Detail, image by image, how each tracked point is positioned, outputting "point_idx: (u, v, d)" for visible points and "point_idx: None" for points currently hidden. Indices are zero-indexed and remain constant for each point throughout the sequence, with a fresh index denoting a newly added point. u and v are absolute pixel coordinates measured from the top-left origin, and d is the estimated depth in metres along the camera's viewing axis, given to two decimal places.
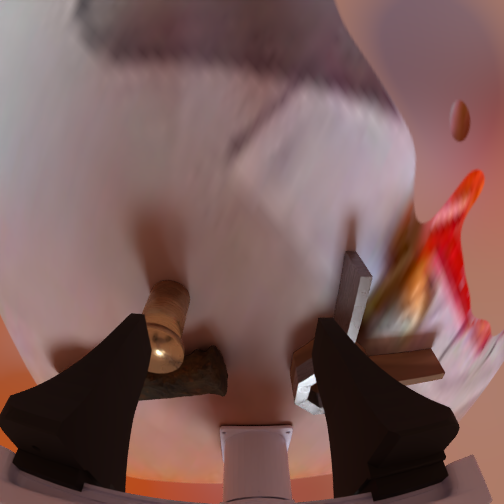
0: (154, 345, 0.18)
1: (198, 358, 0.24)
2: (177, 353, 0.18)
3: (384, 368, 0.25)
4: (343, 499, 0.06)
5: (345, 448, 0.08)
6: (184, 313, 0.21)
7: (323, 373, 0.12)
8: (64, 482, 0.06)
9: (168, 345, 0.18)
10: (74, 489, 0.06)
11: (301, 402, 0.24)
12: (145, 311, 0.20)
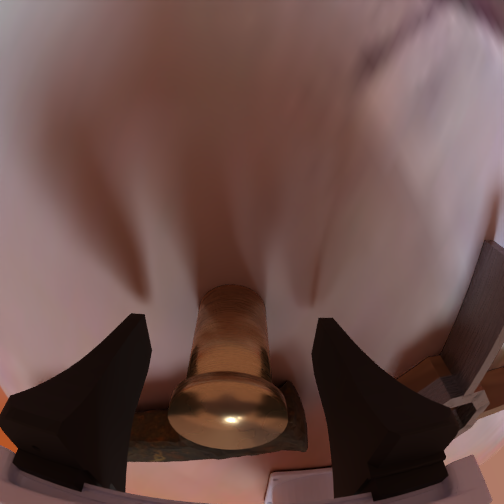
0: (234, 412, 0.09)
1: None
2: (277, 422, 0.09)
3: (488, 389, 0.16)
4: (343, 499, 0.06)
5: (345, 448, 0.08)
6: None
7: (323, 373, 0.12)
8: (64, 482, 0.06)
9: (263, 411, 0.09)
10: (74, 489, 0.06)
11: None
12: (203, 343, 0.11)
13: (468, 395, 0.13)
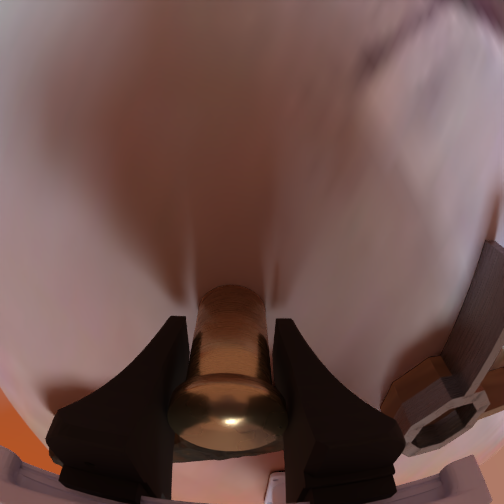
0: (233, 414, 0.09)
1: None
2: (276, 423, 0.09)
3: (489, 390, 0.16)
4: None
5: (291, 453, 0.08)
6: (267, 342, 0.12)
7: (279, 375, 0.11)
8: (64, 482, 0.06)
9: (263, 413, 0.09)
10: (131, 503, 0.06)
11: None
12: (203, 344, 0.11)
13: (469, 396, 0.13)
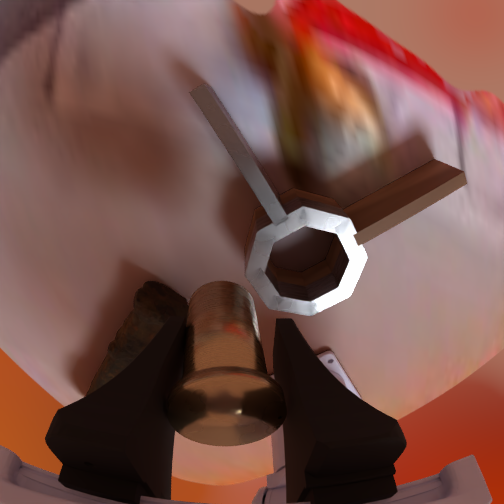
0: (233, 407, 0.09)
1: None
2: (276, 414, 0.09)
3: (372, 208, 0.18)
4: None
5: (292, 453, 0.08)
6: None
7: (279, 375, 0.11)
8: (64, 482, 0.06)
9: (262, 404, 0.09)
10: (131, 503, 0.06)
11: (276, 304, 0.19)
12: (196, 340, 0.11)
13: (283, 220, 0.16)
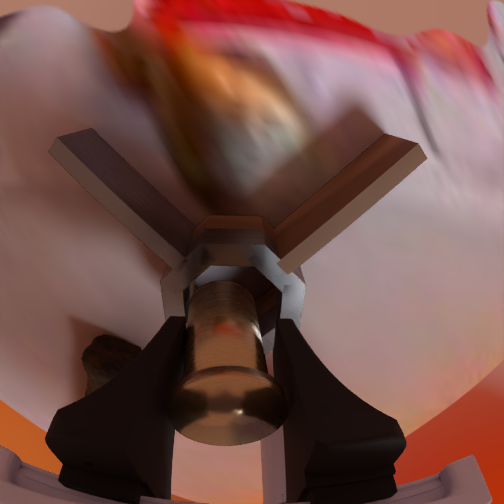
0: (234, 407, 0.09)
1: None
2: (277, 413, 0.09)
3: (304, 219, 0.15)
4: None
5: (292, 453, 0.08)
6: (260, 335, 0.12)
7: (279, 375, 0.11)
8: (64, 482, 0.06)
9: (263, 403, 0.09)
10: (131, 503, 0.06)
11: None
12: (197, 340, 0.11)
13: (183, 264, 0.14)
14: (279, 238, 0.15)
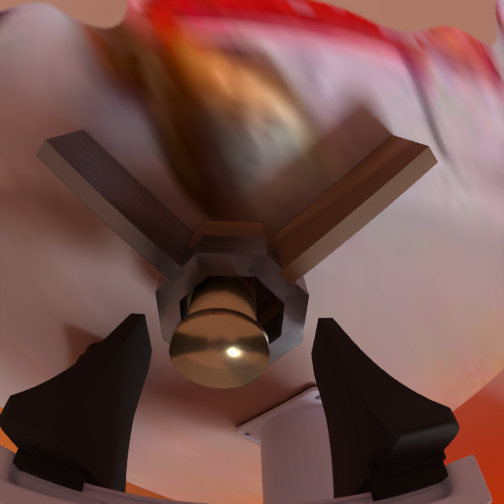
0: (223, 345, 0.11)
1: None
2: (260, 356, 0.12)
3: (307, 226, 0.14)
4: (343, 499, 0.06)
5: (345, 448, 0.08)
6: (255, 296, 0.15)
7: (323, 373, 0.12)
8: (64, 482, 0.06)
9: (248, 344, 0.11)
10: (74, 489, 0.06)
11: None
12: (200, 293, 0.13)
13: (179, 274, 0.13)
14: (281, 245, 0.14)
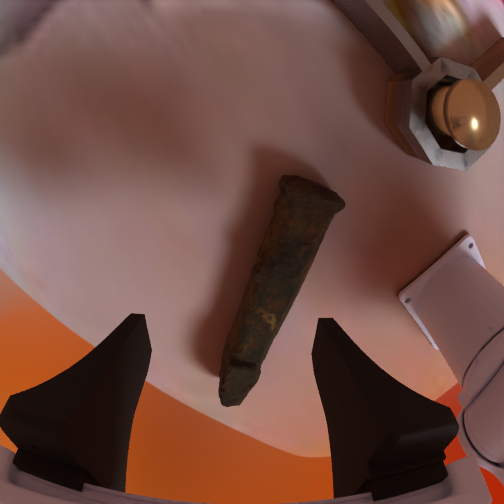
0: (480, 104, 0.12)
1: (280, 198, 0.19)
2: (496, 119, 0.12)
3: (479, 70, 0.14)
4: (343, 499, 0.06)
5: (345, 448, 0.08)
6: None
7: (323, 373, 0.12)
8: (64, 482, 0.06)
9: (491, 107, 0.12)
10: (74, 489, 0.06)
11: (438, 158, 0.15)
12: (439, 88, 0.14)
13: (429, 69, 0.13)
14: None
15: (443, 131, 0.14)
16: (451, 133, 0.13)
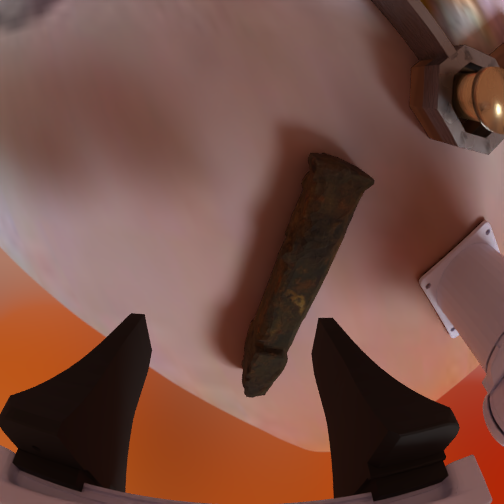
0: None
1: (308, 176, 0.18)
2: None
3: (497, 61, 0.14)
4: (343, 499, 0.06)
5: (345, 448, 0.08)
6: None
7: (323, 373, 0.12)
8: (64, 482, 0.06)
9: None
10: (74, 489, 0.06)
11: (463, 141, 0.15)
12: (464, 74, 0.13)
13: (455, 55, 0.13)
14: None
15: (468, 115, 0.14)
16: (479, 116, 0.12)
